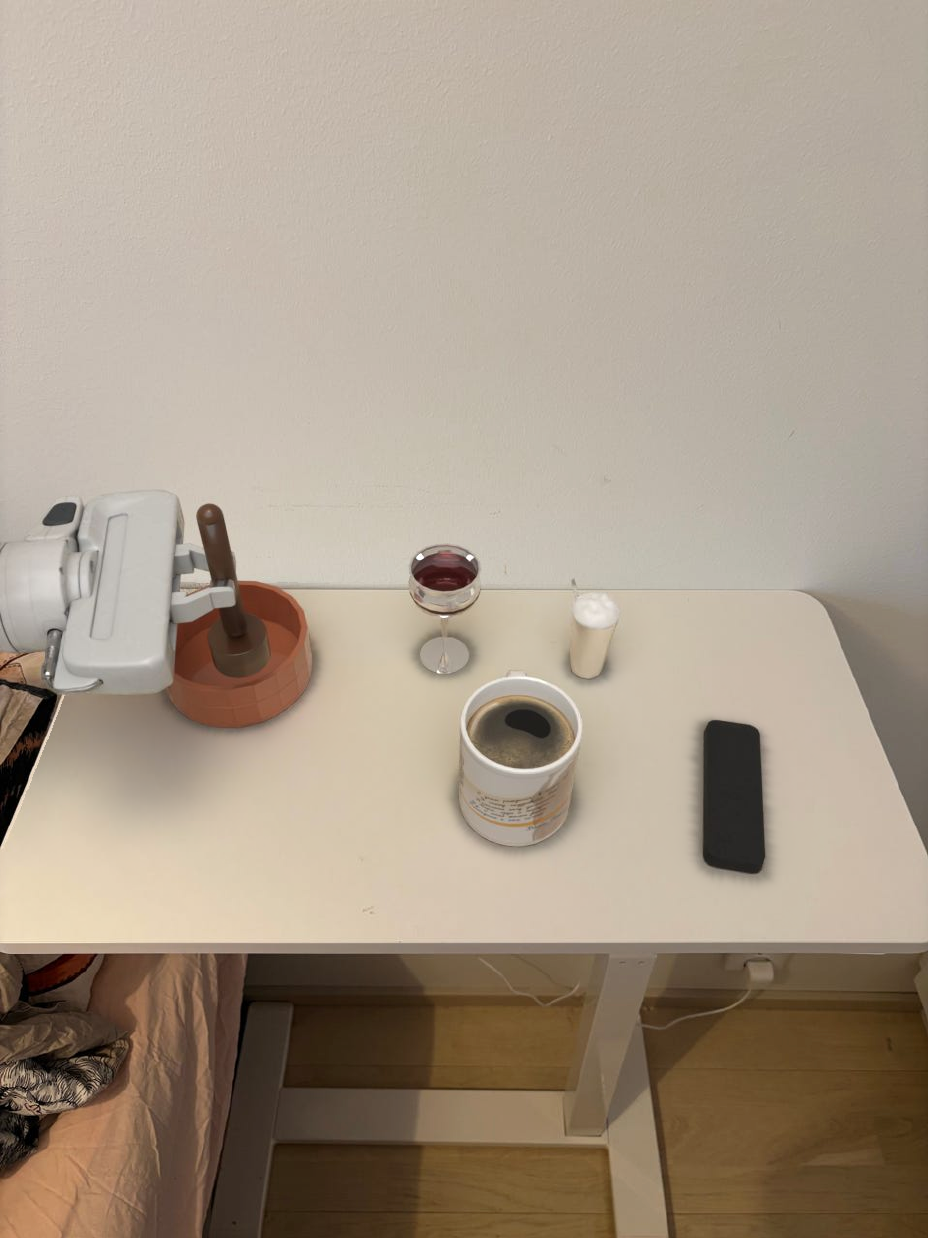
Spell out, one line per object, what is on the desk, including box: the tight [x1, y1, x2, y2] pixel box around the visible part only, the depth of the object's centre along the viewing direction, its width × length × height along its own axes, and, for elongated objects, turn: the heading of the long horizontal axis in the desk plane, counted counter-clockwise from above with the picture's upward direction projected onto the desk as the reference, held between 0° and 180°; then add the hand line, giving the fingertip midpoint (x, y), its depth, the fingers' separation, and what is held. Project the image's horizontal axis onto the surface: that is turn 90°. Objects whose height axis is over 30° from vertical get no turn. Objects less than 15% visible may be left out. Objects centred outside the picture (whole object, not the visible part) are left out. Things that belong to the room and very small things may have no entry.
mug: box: [458, 669, 584, 847], centre depth 79 cm, size 10×12×11 cm
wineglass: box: [408, 543, 482, 675], centre depth 90 cm, size 7×7×12 cm
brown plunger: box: [195, 502, 271, 678], centre depth 76 cm, size 5×5×17 cm
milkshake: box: [569, 578, 621, 680], centre depth 90 cm, size 5×5×10 cm
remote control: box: [702, 719, 766, 874], centre depth 82 cm, size 5×2×15 cm
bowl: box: [164, 580, 313, 729], centre depth 90 cm, size 14×14×6 cm
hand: (235, 577), depth 75 cm, fingers closed on brown plunger
